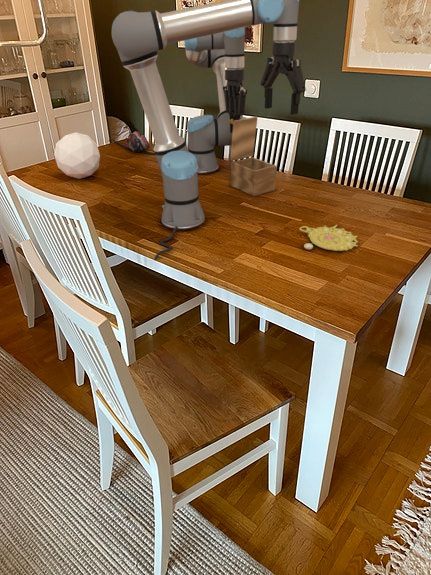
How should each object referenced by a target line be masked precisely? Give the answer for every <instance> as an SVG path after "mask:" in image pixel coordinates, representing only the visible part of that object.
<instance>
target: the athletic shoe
mask: <svg viewBox="0 0 431 575" xmlns="http://www.w3.org/2000/svg"><path fill="white" fill-rule="evenodd" d="M124 139H125V141H126V143H123V144H122V145H124V146H127V147H130V149H129V150H131V149H132V150H131V152H134V153H141V152H140V151H145V150H147V149H150V148H151V146H150V144H149V141H148V139H147V137H146V136H145V135H144V134H141V133H140V131H137V130H136V131H134V132H132V133H131V135H130V137H129V139H128V137H125V138H124Z"/></svg>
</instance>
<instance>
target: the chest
mask: <svg viewBox="0 0 431 575" xmlns="http://www.w3.org/2000/svg"><path fill="white" fill-rule="evenodd" d="M276 179H277V165H276V164H272V163H270V162H267V161H265V160H261V159H258V158H257V157H254V156H251V157H247V158H243V159H238V160H234V161H230V186H231V187H233V188H236V189H238V190H240V191H242V192H244V193H246V194H249V195H251V196H253V197H256V196H259V195H263V194H266V193H269V192H273V191H276V184H277V183H276V182H277V180H276Z"/></svg>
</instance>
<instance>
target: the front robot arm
mask: <svg viewBox="0 0 431 575" xmlns="http://www.w3.org/2000/svg"><path fill="white" fill-rule="evenodd" d="M299 6H300V0H220V1H214V2H210V3H205V4H201V5H197V6H191V7H186V8H182V9H181V8H180V9H177V10H176V9H175V10H172V11H167V12H162V13H161V12H159V11H158V10H151V11H145V12H144V11H143V12H138V11H134V10H126V11H123V12H121V13H119V14H118V15H117V16H116V17H115V19H114V20H113V22H112V25H111V39H112V42H113V45H114V47H115V48H116V50H117V53H118V56H119V58H120V61H121V64H122V67H123V68H125V69H126V70H128V71H129V73H130V75H131V78H132V81H133V84H134V86H135V90H136V92H137V94H138V98H139V100H140V104H141V106H142V108H143V111H144V114H145V118H146V120H147V124H148V125H149V129H150V131H151V134H152V137H153V139H154V143H155V144H154V146H153V148H152V149H153V153H155V155H154V156H155V158H156V161H157V163H158V167H159V170H160V174H161V177H162V184H163V194H164V204H162V205H161V207H162V213H161V219H160V220H161V225H162V227H163V228H165V229H167V230H170V231H172V232H171V235H170V236H169V237H168V238H164V239H161V240H160V241H159V243H160V245H161V246H164V247H166V249H163V250H160V251H158V252H157V253H156V255H155V256H154V258H153V261H157V260H158V257H159V256H160V255H162V254H164V253H168V252H170V251H171V250H172V246H171V245H170V244H167V243H164V242H169V241H171V240H172V239H173V238H174V235H175V233H176V231H177V232H185V231H186V232H187V231H192V230H195V229H198V228H201V227H202V226H203V225H204V224H205V223H206V216H205V212H204V210H203V208H202V204H201V202H200V196H199V179H198V178H199V176H198V175H199V174H197V169H198V164H197V160H196V157H195V156H194V155H193V154H192V153H189V148H188V145H187V144H188V143H187V142H186V138H184V137H183V136H181V135H180V134H179V130H178V128H177V125H176V122H175V118H174V115H173V112H172V108H171V106H170V104H169V100H168V96H167V94H166V91H165V87H164V84H163V81H162V78H161V75H160V72H159V69H158V68H159V67H158V66H157V63H156V61H157V58H158V56H159V53H158V51H162V50H165V49H166V47H167V45H170V44H175V43H179V42H183V41H184V40H189V39H193V38H198V37H202V36H207V35H211V34H216V33H221V32H225V31H230V30H234V29H239V28H243V27H245V28H248V27H253V26H257V25H261V24H267V25H268V24H272V23H273V29H272V30H273V32H272V41H273V43H272V56H270V57H269V56H268V57H267V58H266V66H265V69H264V71H263V74H262V77H261V80H260V86H261V87H263V88H264V97H263V98H264V109H266V110H267V109H272V108H273V89H274V88H273V85H274V83H275V81H276V80H277V78H278V76H279V74H282V75H285V76H286V79H287V80H288V83H289V84H290V87H291V89H292V93H291V100H290V101H291V102H290V103H291V104H290V115H291V116H293V115H297V114H299V107H300V106H299V105H300V103H301V94H302V93H304V92H306V91H307V89H306V84H305V79H304V75H303V71H302V66H301V64H302V61H301V59H294V56H296V52H297V50H296V49H297V43H296V42H295V41H296V40H297V34H298V20H299ZM184 42H185V41H184Z"/></svg>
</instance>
